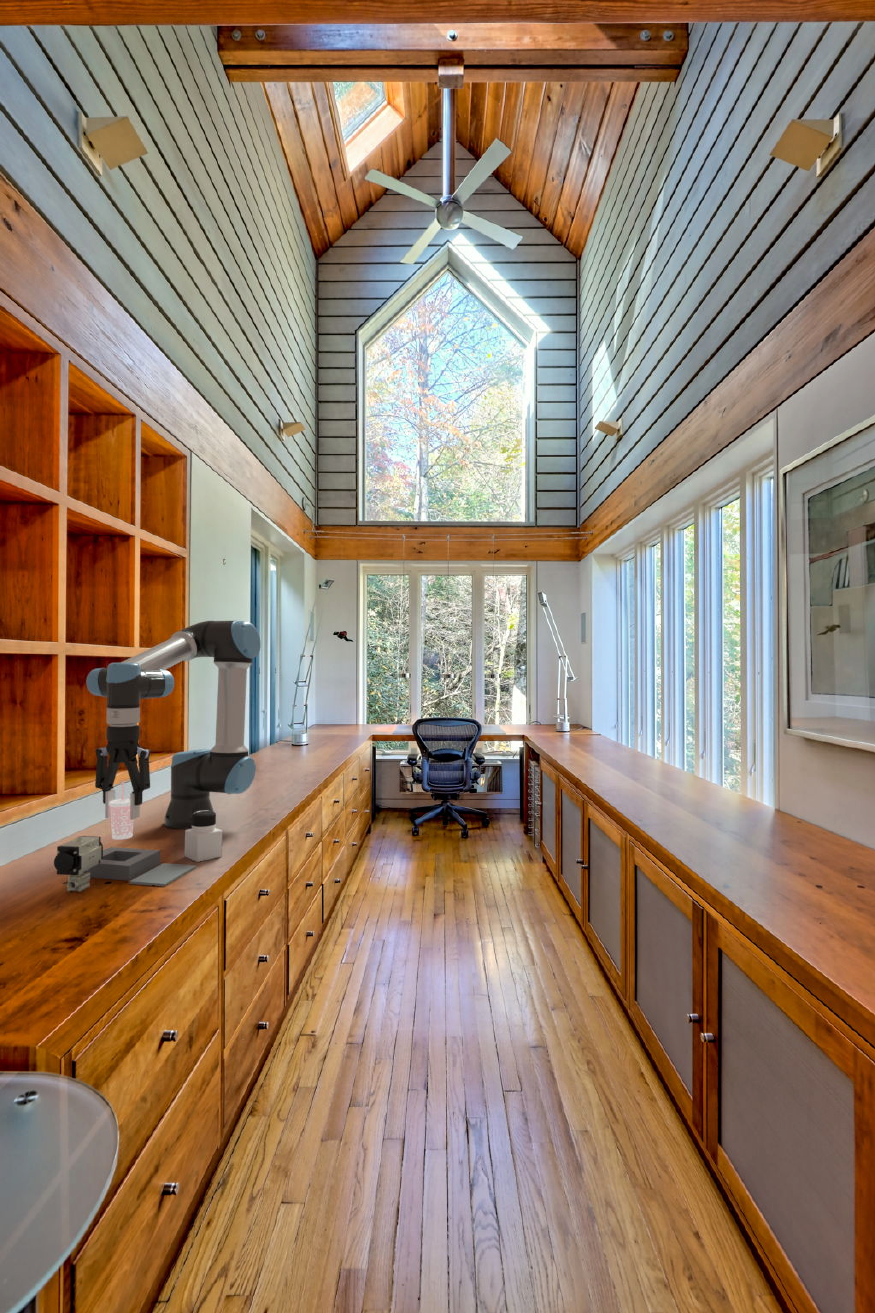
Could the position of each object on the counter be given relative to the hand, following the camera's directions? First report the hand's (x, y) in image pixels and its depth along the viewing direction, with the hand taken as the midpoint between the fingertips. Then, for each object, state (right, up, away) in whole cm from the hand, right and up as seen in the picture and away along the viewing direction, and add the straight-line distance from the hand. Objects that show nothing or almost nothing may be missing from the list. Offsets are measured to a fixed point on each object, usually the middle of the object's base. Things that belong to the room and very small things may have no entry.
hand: (122, 817), depth 166 cm
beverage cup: (0, -5, 0) cm, 5 cm away
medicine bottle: (+16, -14, +12) cm, 24 cm away
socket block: (-1, -13, 0) cm, 13 cm away
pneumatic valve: (-3, -13, -14) cm, 20 cm away
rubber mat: (+12, -13, -4) cm, 18 cm away
